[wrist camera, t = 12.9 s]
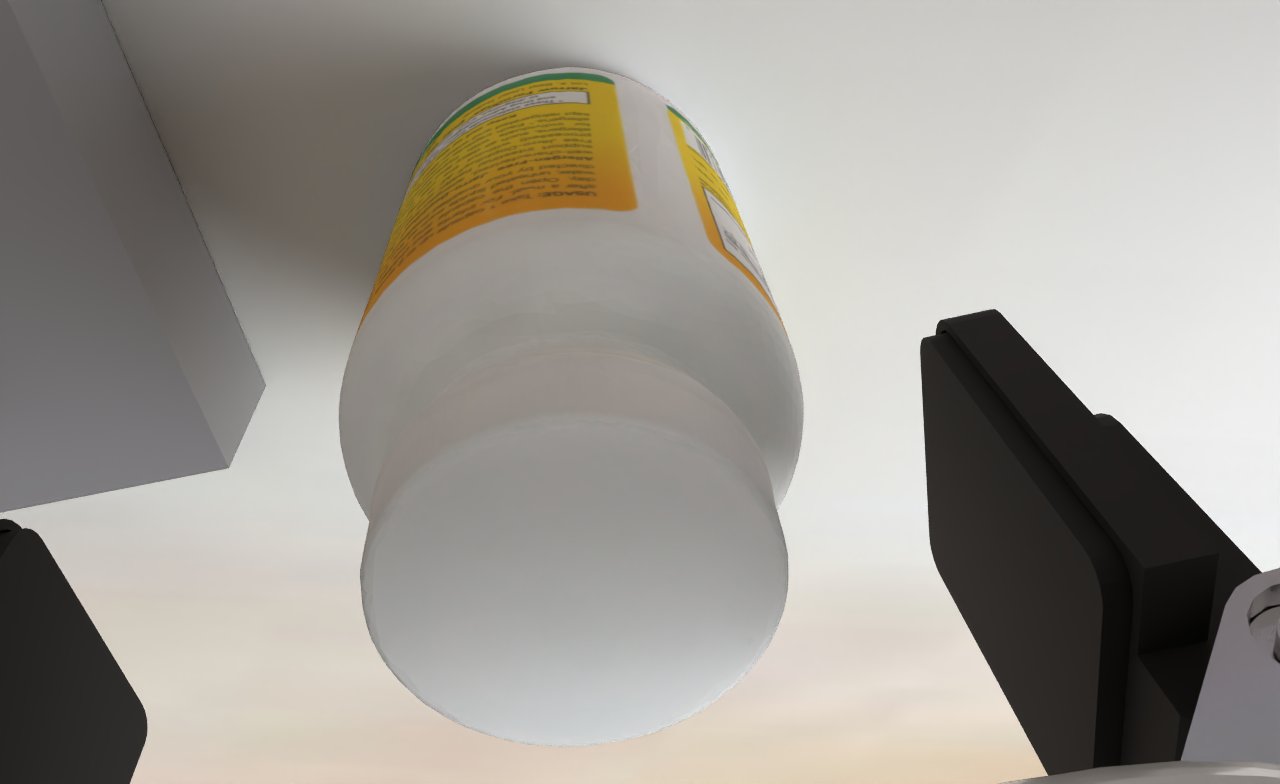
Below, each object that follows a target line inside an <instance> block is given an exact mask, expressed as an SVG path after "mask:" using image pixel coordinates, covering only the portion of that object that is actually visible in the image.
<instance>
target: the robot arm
mask: <svg viewBox="0 0 1280 784" xmlns="http://www.w3.org/2000/svg"><path fill="white" fill-rule="evenodd" d="M920 356H921V376H922V396H923V416H924V436H925V456H926V476H927V496H928V516H929V536H930V545H931V550H932V554H933V558H934V561H935V564H936V567H937V569H938V571H939V574H940V576H941V577H942V579H943V581H944V583H945V585H946V587H947V589H948V590H949V592H950V594H951V596H952V598H953V600H954V602H955V603H956V605H957V607H958V609H959V611H960V613H961V614H962V616H963V618H964V620H965V622H966V624H967V626H968V627H969V629H970V631H971V633H972V635H973V637H974V639H975V640H976V642H977V644H978V646H979V648H980V650H981V652H982V653H983V655H984V657H985V659H986V661H987V663H988V665H989V666H990V668H991V670H992V672H993V674H994V676H995V678H996V679H997V681H998V683H999V685H1000V687H1001V689H1002V691H1003V692H1004V694H1005V696H1006V698H1007V700H1008V702H1009V704H1010V705H1011V707H1012V709H1013V711H1014V713H1015V715H1016V716H1017V718H1018V720H1019V722H1020V724H1021V726H1022V728H1023V729H1024V731H1025V733H1026V735H1027V737H1028V739H1029V741H1030V742H1031V744H1032V746H1033V748H1034V750H1035V752H1036V754H1037V755H1038V757H1039V759H1040V761H1041V763H1042V765H1043V767H1044V768H1045V770H1046V772H1047V774H1048V776H1044V777H1037V778H1030V779H1023V780H1016V781H1010V782H1004V783H999V784H1280V568H1278V569H1274V570H1271V571H1267V572H1264V573H1262V572H1261V571H1260V570H1259V569H1258V568H1257V567H1256V566H1255V565H1254V564H1253V563H1252V562H1251V561H1250V560H1249V559H1248V558H1247V556H1246V555H1245V554H1244V553H1243V552H1242V551H1241V550H1240V549H1239V548H1238V547H1237V546H1236V545H1235V544H1234V543H1233V542H1232V541H1231V540H1230V538H1229V537H1228V536H1227V535H1226V534H1225V533H1224V532H1223V531H1222V530H1221V529H1220V528H1219V527H1218V526H1217V525H1216V524H1215V523H1214V522H1213V520H1212V519H1211V518H1210V517H1209V516H1208V515H1207V514H1206V513H1205V512H1204V511H1203V510H1202V509H1201V508H1200V507H1199V506H1198V505H1197V504H1196V502H1195V501H1194V500H1193V499H1192V498H1191V497H1190V496H1189V495H1188V494H1187V493H1186V492H1185V491H1184V490H1183V489H1182V488H1181V487H1180V486H1179V484H1178V483H1177V482H1176V481H1175V480H1174V479H1173V478H1172V477H1171V476H1170V475H1169V474H1168V473H1167V472H1166V471H1165V470H1164V469H1163V468H1162V466H1161V465H1160V464H1159V463H1158V462H1157V461H1156V460H1155V459H1154V458H1153V457H1152V456H1151V455H1150V454H1149V453H1148V452H1147V451H1146V450H1145V448H1144V447H1143V446H1142V445H1141V444H1140V443H1139V442H1138V441H1137V440H1136V439H1135V438H1134V437H1133V436H1132V435H1131V434H1130V433H1129V432H1128V430H1127V429H1126V428H1125V427H1124V426H1123V425H1122V424H1121V423H1120V422H1119V421H1117V420H1116V419H1115V418H1113V417H1112V416H1111V415H1107V414H1102V413H1100V414H1096V415H1093V414H1092V413H1091V412H1090V411H1089V410H1088V408H1087V407H1086V406H1085V405H1084V404H1083V403H1082V402H1081V401H1080V400H1079V399H1078V398H1077V396H1076V395H1075V394H1074V393H1073V392H1072V391H1071V390H1070V389H1069V388H1068V387H1067V386H1066V384H1065V383H1064V382H1063V381H1062V380H1061V379H1060V378H1059V377H1058V376H1057V375H1056V373H1055V372H1054V371H1053V370H1052V369H1051V368H1050V367H1049V366H1048V365H1047V364H1046V363H1045V361H1044V360H1043V359H1042V358H1041V357H1040V356H1039V355H1038V354H1037V353H1036V352H1035V351H1034V349H1033V348H1032V347H1031V346H1030V345H1029V344H1028V343H1027V342H1026V341H1025V340H1024V338H1023V337H1022V336H1021V335H1020V334H1019V333H1018V332H1017V331H1016V330H1015V329H1014V328H1013V326H1012V325H1011V324H1010V323H1009V322H1008V321H1007V320H1006V319H1005V318H1004V317H1003V315H1002V314H1001V313H999V312H998V311H997V310H995V309H992V310H986V311H981V312H977V313H972V314H967V315H963V316H958V317H953V318H948V319H944V320H940V321H939V323H938V324H937V329H936V335H935V336H930V337H925V338H923V339H922V341H921V346H920ZM146 737H147V717H146V713H145V710H144V708H143V705H142V703H141V702H140V700H139V698H138V697H137V695H136V693H135V692H134V690H133V688H132V687H131V685H130V683H129V682H128V680H127V679H126V677H125V675H124V674H123V672H122V670H121V669H120V667H119V665H118V664H117V662H116V660H115V659H114V657H113V655H112V654H111V652H110V651H109V649H108V647H107V646H106V644H105V642H104V641H103V639H102V637H101V636H100V634H99V632H98V631H97V629H96V627H95V626H94V624H93V623H92V621H91V619H90V618H89V616H88V614H87V613H86V611H85V609H84V608H83V606H82V604H81V603H80V601H79V599H78V598H77V596H76V594H75V593H74V591H73V590H72V588H71V586H70V585H69V583H68V581H67V580H66V578H65V576H64V575H63V573H62V571H61V570H60V568H59V566H58V565H57V563H56V562H55V560H54V558H53V557H52V555H51V553H50V552H49V550H48V548H47V547H46V545H45V543H44V542H43V540H42V539H41V537H40V536H39V535H38V534H37V533H36V532H35V531H33V530H32V529H27V528H24V529H22V528H21V527H20V526H19V525H18V524H16V523H15V522H13V521H12V520H7V519H0V784H130V781H131V778H132V776H133V773H134V771H135V768H136V765H137V763H138V760H139V757H140V755H141V752H142V749H143V747H144V744H145V741H146Z"/></svg>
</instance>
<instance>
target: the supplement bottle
mask: <svg viewBox="0 0 1280 784" xmlns="http://www.w3.org/2000/svg"><path fill="white" fill-rule="evenodd" d="M339 429H340V442H341V448H342V453H343V458H344V462H345V467H346V470H347V473H348V477H349V480H350V482H351V485H352V488H353V490H354V493H355V496H356V498H357V500H358V502H359V504H360V506H361V508H362V509H363V511H364V513H365V515H366V516H367V518H368V520H369V521H370V522H369V527H368V532H367V537H366V542H365V547H364V552H363V558H362V563H361V569H360V581H361V593H362V604H363V611H364V615H365V619H366V623H367V627H368V630H369V633H370V636H371V639H372V641H373V643H374V645H375V647H376V649H377V650H378V652H379V654H380V655H381V657H382V659H383V660H384V662H385V663H386V665H387V666H388V668H389V669H390V670H391V671H392V672H393V674H394V675H395V676H396V677H397V679H398V680H399V681H400V682H401V683H402V684H403V685H404V686H405V687H406V688H408V689H409V690H410V691H411V692H412V693H413V694H414V695H415V696H416V697H417V698H419V699H420V700H421V701H422V702H423V703H424V704H426V705H428V706H429V707H431V708H432V709H434V710H436V711H437V712H439V713H440V714H442V715H443V716H445V717H447V718H449V719H451V720H453V721H455V722H457V723H459V724H461V725H463V726H465V727H467V728H469V729H472V730H475V731H478V732H480V733H483V734H487V735H490V736H494V737H497V738H501V739H504V740H508V741H514V742H520V743H525V744H531V745H546V746H557V747H573V746H589V745H598V744H603V743H609V742H615V741H622V740H628V739H632V738H636V737H640V736H644V735H647V734H649V733H653V732H656V731H660V730H663V729H665V728H667V727H669V726H672V725H674V724H676V723H678V722H680V721H682V720H684V719H686V718H688V717H690V716H692V715H694V714H697V713H699V712H701V711H702V710H703V709H704V708H706V707H707V706H708V705H709V704H711V703H713V702H714V701H716V700H717V699H719V698H720V697H721V696H723V695H724V694H725V693H726V692H727V691H728V690H730V689H731V688H732V687H733V686H734V685H735V684H737V683H738V682H739V681H740V680H741V679H742V678H743V677H744V676H745V674H746V673H747V672H748V671H749V670H750V669H751V668H752V666H753V665H754V664H755V663H756V662H757V661H758V659H759V658H760V657H761V655H762V654H763V653H764V651H765V650H766V648H767V647H768V645H769V643H770V641H771V639H772V637H773V635H774V633H775V631H776V629H777V626H778V624H779V621H780V619H781V616H782V613H783V611H784V606H785V601H786V596H787V590H788V553H787V548H786V544H785V539H784V535H783V531H782V527H781V524H780V520H779V516H778V513H777V509H778V508H779V506H780V504H781V502H782V500H783V498H784V497H785V495H786V492H787V490H788V487H789V485H790V482H791V480H792V477H793V474H794V471H795V468H796V464H797V461H798V456H799V452H800V447H801V439H802V429H803V396H802V388H801V382H800V377H799V372H798V368H797V363H796V360H795V356H794V353H793V350H792V346H791V344H790V341H789V339H788V336H787V333H786V331H785V328H784V325H783V322H782V320H781V317H780V315H779V312H778V310H777V307H776V305H775V302H774V300H773V298H772V295H771V293H770V290H769V288H768V285H767V283H766V280H765V277H764V275H763V272H762V270H761V267H760V265H759V263H758V260H757V258H756V255H755V253H754V250H753V248H752V245H751V242H750V239H749V237H748V234H747V232H746V230H745V227H744V225H743V222H742V220H741V218H740V215H739V212H738V209H737V207H736V204H735V201H734V199H733V196H732V194H731V191H730V189H729V187H728V185H727V183H726V181H725V179H724V177H723V174H722V172H721V170H720V168H719V165H718V163H717V161H716V159H715V157H714V155H713V153H712V151H711V149H710V147H709V146H708V144H707V143H706V141H705V140H704V138H703V137H702V135H701V134H700V132H699V131H698V129H697V128H696V127H695V126H694V125H693V124H692V122H691V121H690V120H689V119H688V118H687V117H686V116H685V115H684V114H683V113H682V112H681V111H680V110H679V109H678V108H676V107H675V106H674V105H673V104H672V103H671V102H669V101H668V100H667V99H665V98H664V97H662V96H661V95H659V94H658V93H656V92H655V91H653V90H651V89H649V88H648V87H646V86H644V85H642V84H640V83H638V82H636V81H633V80H631V79H628V78H626V77H623V76H620V75H616V74H613V73H609V72H604V71H600V70H595V69H589V68H578V67H564V68H554V69H547V70H542V71H535V72H531V73H528V74H524V75H520V76H517V77H513V78H509V79H507V80H505V81H502V82H500V83H497V84H495V85H493V86H491V87H489V88H487V89H485V90H483V91H481V92H479V93H478V94H476V95H475V96H473V97H472V98H470V99H469V100H467V101H466V102H465V103H463V104H462V105H461V106H460V107H458V108H457V109H456V110H455V111H453V112H452V113H451V114H450V115H449V116H448V118H447V119H446V120H445V121H444V122H443V123H442V124H441V125H440V126H439V128H438V129H437V130H436V132H435V133H434V134H433V136H432V137H431V138H430V140H429V141H428V143H427V145H426V147H425V148H424V150H423V152H422V154H421V156H420V159H419V161H418V162H417V164H416V167H415V169H414V172H413V174H412V177H411V179H410V182H409V185H408V188H407V191H406V194H405V197H404V199H403V202H402V204H401V207H400V210H399V213H398V215H397V218H396V222H395V225H394V228H393V230H392V233H391V236H390V239H389V242H388V245H387V248H386V251H385V254H384V257H383V260H382V263H381V267H380V270H379V272H378V275H377V278H376V281H375V284H374V287H373V290H372V293H371V296H370V298H369V301H368V304H367V307H366V309H365V312H364V315H363V317H362V320H361V323H360V326H359V328H358V331H357V334H356V337H355V340H354V343H353V346H352V349H351V351H350V355H349V358H348V362H347V365H346V369H345V373H344V377H343V382H342V387H341V393H340V404H339Z"/></svg>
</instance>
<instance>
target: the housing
mask: <svg viewBox="0 0 1280 784" xmlns="http://www.w3.org/2000/svg"><path fill="white" fill-rule="evenodd" d="M265 386H266V385H265V383H264V380H263V378H262V376H261V373H260V371H259V369H258V366H257V364H256V362H255V359H254V357H253V355H252V352H251V350H250V348H249V345H248V343H247V341H246V338H245V336H244V334H243V331H242V329H241V327H240V324H239V322H238V320H237V317H236V315H235V313H234V310H233V308H232V306H231V303H230V301H229V299H228V296H227V294H226V292H225V289H224V287H223V285H222V282H221V280H220V278H219V275H218V273H217V271H216V268H215V266H214V264H213V261H212V259H211V257H210V254H209V252H208V250H207V247H206V245H205V243H204V240H203V238H202V236H201V233H200V231H199V229H198V226H197V224H196V222H195V219H194V217H193V215H192V212H191V210H190V208H189V205H188V203H187V201H186V198H185V196H184V194H183V191H182V189H181V187H180V184H179V182H178V180H177V177H176V175H175V173H174V170H173V168H172V166H171V163H170V161H169V159H168V156H167V154H166V152H165V149H164V147H163V145H162V142H161V140H160V138H159V135H158V133H157V131H156V128H155V126H154V124H153V121H152V119H151V117H150V114H149V112H148V110H147V107H146V105H145V103H144V100H143V98H142V96H141V93H140V91H139V89H138V86H137V84H136V82H135V79H134V77H133V75H132V72H131V70H130V68H129V66H128V63H127V61H126V59H125V56H124V54H123V52H122V49H121V47H120V45H119V42H118V40H117V38H116V35H115V33H114V31H113V28H112V26H111V24H110V21H109V19H108V17H107V14H106V12H105V10H104V7H103V5H102V3H101V0H0V512H5V511H11V510H16V509H21V508H26V507H31V506H36V505H41V504H47V503H52V502H57V501H62V500H67V499H72V498H77V497H82V496H88V495H93V494H98V493H103V492H108V491H113V490H118V489H124V488H129V487H134V486H139V485H144V484H149V483H154V482H159V481H165V480H170V479H175V478H180V477H185V476H190V475H195V474H200V473H206V472H211V471H216V470H221V469H226V468H229V467H230V464H231V462H232V460H233V458H234V455H235V453H236V451H237V449H238V447H239V444H240V442H241V440H242V438H243V435H244V433H245V431H246V429H247V426H248V424H249V422H250V420H251V417H252V415H253V413H254V411H255V409H256V406H257V404H258V402H259V400H260V397H261V395H262V393H263V391H264V388H265Z"/></svg>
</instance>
